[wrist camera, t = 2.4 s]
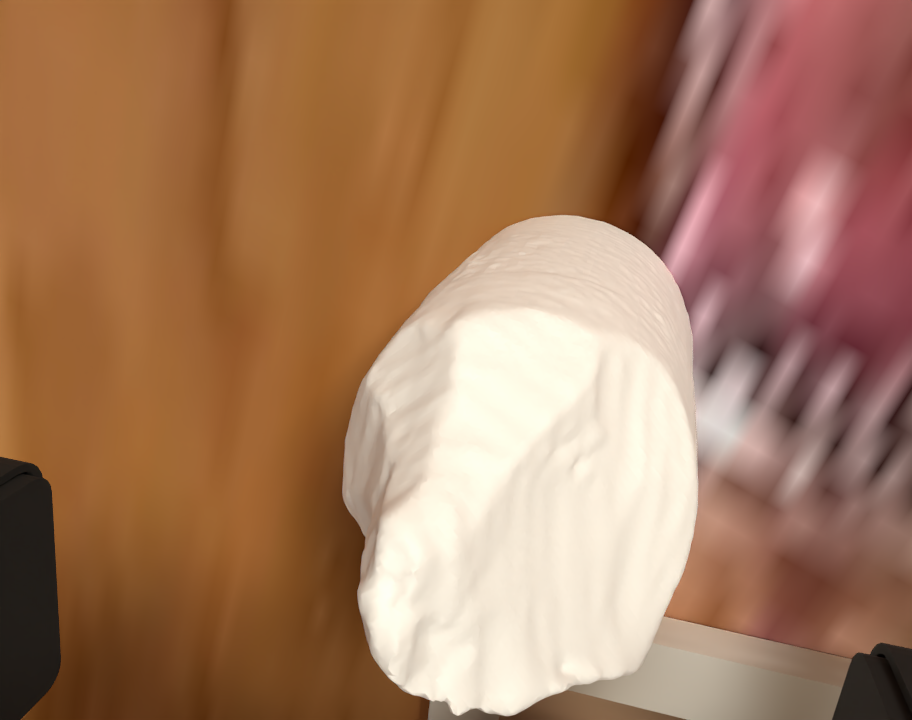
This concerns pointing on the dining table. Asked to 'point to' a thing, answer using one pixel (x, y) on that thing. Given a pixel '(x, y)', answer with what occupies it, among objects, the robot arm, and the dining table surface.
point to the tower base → (698, 683)
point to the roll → (526, 469)
